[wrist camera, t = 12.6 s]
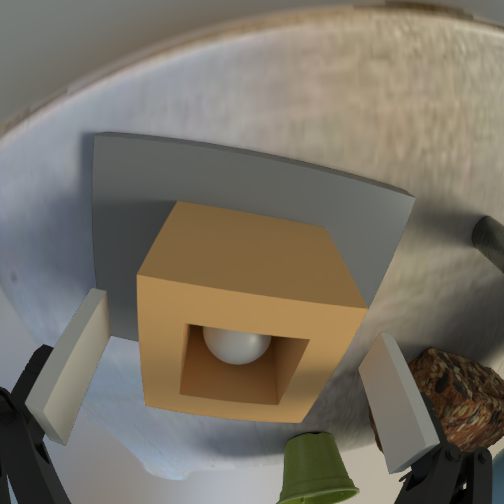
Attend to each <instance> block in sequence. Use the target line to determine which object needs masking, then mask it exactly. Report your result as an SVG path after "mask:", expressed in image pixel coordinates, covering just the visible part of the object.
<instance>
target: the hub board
mask: <svg viewBox="0 0 504 504" xmlns="http://www.w3.org/2000/svg"><path fill="white" fill-rule="evenodd" d="M415 200H416V198H415V197H414V196H412V195H411V194H410V193H408V192H407V191H405V190H403V189H400V188H397V187H394V186H390V185H387V184H384V183H381V182H377V181H374V180H371V179H367V178H364V177H360V176H357V175H353V174H349V173H346V172H342V171H338V170H334V169H331V168H327V167H323V166H319V165H315V164H310V163H306V162H302V161H298V160H293V159H289V158H284V157H280V156H275V155H270V154H265V153H260V152H255V151H250V150H245V149H239V148H234V147H228V146H222V145H216V144H210V143H203V142H196V141H189V140H182V139H174V138H166V137H158V136H149V135H139V134H128V133H116V132H104V133H101V134H98V135H95V136H94V148H93V168H92V230H93V250H94V264H95V276H96V286H97V289H100V290H104V291H107V301H108V311H109V319H110V327H111V336H115V337H120V338H124V339H128V340H133V341H138V342H139V331H138V309H137V273H138V271H139V269H140V268H141V266H142V264H143V262H144V260H145V258H146V256H147V254H148V252H149V251H150V249H151V247H152V245H153V243H154V241H155V239H156V238H157V236H158V234H159V232H160V230H161V229H162V227H163V225H164V223H165V222H166V220H167V218H168V216H169V215H170V213H171V211H172V209H173V208H174V206H175V204H176V203H177V201H182V202H188V203H194V204H200V205H207V206H213V207H218V208H224V209H230V210H236V211H241V212H247V213H253V214H258V215H264V216H269V217H274V218H280V219H285V220H290V221H295V222H300V223H306V224H311V225H316V226H321V227H325V228H326V230H327V232H328V234H329V235H330V237H331V239H332V241H333V243H334V244H335V246H336V248H337V250H338V252H339V253H340V255H341V257H342V259H343V261H344V263H345V265H346V266H347V268H348V270H349V272H350V274H351V276H352V278H353V280H354V282H355V284H356V286H357V288H358V289H359V291H360V293H361V295H362V297H363V299H364V301H365V303H366V305H367V307H368V309H369V307H370V305H371V303H372V301H373V299H374V296H375V294H376V292H377V290H378V288H379V286H380V284H381V282H382V280H383V278H384V275H385V273H386V271H387V269H388V267H389V264H390V262H391V260H392V257H393V255H394V253H395V251H396V248H397V246H398V243H399V241H400V239H401V236H402V234H403V231H404V229H405V226H406V224H407V221H408V218H409V216H410V213H411V211H412V208H413V205H414V202H415ZM203 335H204V340H205V343H206V345H207V347H208V348H209V350H210V351H211V352H212V354H213V355H214V356H216V357H217V358H218V359H220V360H221V361H224V362H226V363H229V364H236V365H240V364H247V363H250V362H252V361H254V360H256V359H258V358H259V357H260V356H262V355H263V353H264V352H265V351H266V350H267V348H268V347H269V344H270V342H271V339H272V335H264V334H256V333H248V332H240V331H233V330H226V329H219V328H213V327H206V326H203Z"/></svg>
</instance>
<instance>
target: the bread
mask: <svg viewBox="0 0 504 504" xmlns="http://www.w3.org/2000/svg"><path fill="white" fill-rule="evenodd" d="M408 368H409V370H410V372H411V374H412V376H413V379H414V381H415V383H416V385H417V388H418V390H419V392H425V394H426V395H427V396H428V397H429V398H430V399H431V402H432V404H433V406H434V410H435V411H436V413H437V417H438V418H439V420H440V423H441V425H442V428H443V430H444V432H445V435H446V437H447V440H448V442H449V443H452V444H455V445H457V446H458V447H459V448H460V450H461V451H466V452H473V451H474V450H475V449H476V448H478V447H480V446H483V447H485V448H488V447H490V446H491V445H494V444H495V443H496V442H497V441H498V440H499V439H501V438H502V437H503V436H504V380H503V379H501V378H500V376H499V375H498V374H497V373H496V372H495V371H494V370H493V369H491V368H490V369H488V368H485V367H484V366H482V365H481V364H479V363H476V362H474V361H472V360H469V359H467V358H464V357H462V356H459V355H454V354H452V353H451V354H450V353H448V352H443V351H439V350H437V349H434V348H431V349H429V350H427V351H424V352H423V353H422V354H421V356H420V358H417V359H416V360H414V361H412V362H411V363H409V365H408ZM369 411H370V414H369V418H370V422H371V427H372V429H373V430H374V433H375V440H376V443H377V446H378V448H379V450H380V451H382V453H383V449H382V445H381V442H380V438H379V435H378V431H377V428H376V424H375V421H374V418H373V414H372V411H371V408H370V404H369ZM383 454H384V453H383Z"/></svg>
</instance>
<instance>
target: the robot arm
mask: <svg viewBox="0 0 504 504" xmlns="http://www.w3.org/2000/svg"><path fill="white" fill-rule="evenodd" d="M110 336H111V327H110V319H109V311H108V301H107V291H104V290H100V289H95V288H91V290H90V291H89V293H88V294H87V296H86V297H85V299H84V300H83V302H82V303H81V305H80V307H79V308H78V310H77V311H76V313H75V314H74V316H73V318H72V319H71V321H70V322H69V324H68V326H67V327H66V329H65V331H64V332H63V334H62V335H61V337H60V339H59V341H58V342H57V344H56V346H55V347H54V348H53V347H50V346H47V345H45V344H43V345H42V346H41V347H40V348H38V349H37V350H36V351H35V352H34V353H33V355H32V357H31V358H30V360H29V363H27V365H26V367H25V370H23V372H22V374H21V376H20V377H19V379H18V381H17V383H16V385H15V387H14V388H13V390H12V392H11V394H10V392H8V391H7V390H6V389H5V388H2V387H0V504H11V500H10V494H9V488H8V481H7V475H8V478H9V481H10V484H11V486H12V489H13V492H14V494H15V497H16V500H17V502H18V504H71V502H70V500H69V499H68V497H67V494H66V493H65V490H64V489H63V486H62V484H61V482H60V480H59V478H58V476H57V473H56V471H55V469H54V467H53V464H52V462H51V459H50V457H49V454H48V452H47V449H46V447H45V444H44V442H43V437H44V435H45V434H46V435H47V437H48V438H49V439H50V440H52V441H54V442H57V443H59V444H62V445H64V446H66V445H67V442H68V439H69V436H70V433H71V430H72V428H73V425H74V422H75V420H76V417H77V414H78V412H79V409H80V407H81V404H82V401H83V399H84V396H85V394H86V391H87V389H88V387H89V384H90V382H91V379H92V377H93V375H94V372H95V370H96V368H97V365H98V363H99V361H100V358H101V356H102V354H103V352H104V349H105V347H106V345H107V343H108V341H109V338H110ZM358 370H359V373H360V376H361V379H362V382H363V385H364V388H365V392H366V395H367V398H368V401H369V404H370V408H371V411H372V414H373V418H374V421H375V424H376V428H377V431H378V435H379V438H380V442H381V445H382V449H383V453H384V456H385V460H386V464H387V468H388V472H389V474H393V473H398V472H402V471H404V470H405V469H407V468H408V467H409V466H411V469H412V471H410V472H409V473H407V474H406V475H404V476H403V477H401V479H400V480H399V482H401V481H403V480H404V479H405V478H406V480H405V482H403V487H402V489H401V491H400V493H399V495H398V497H397V499H396V501H395V503H394V504H504V449H502V450H501V451H500V452H499V453H498V454H497V455H496V456H495V457H494V459H493V460H492V456H491V453H490V451H489V450H488V449H487V448H485V447H483V446H480V447H478V448H476V449H475V450H474V451H473V452H466V451H461V450H460V448H459V447H458V446H457V445H455V444H452V443H449V442H448V440H447V437H446V435H445V432H444V430H443V428H442V425H441V423H440V420H439V418H438V417H437V413H436V411H435V410H434V406H433V404H432V402H431V399H430V398H429V397H428V396H427V395H426V394H425V392H419V390H418V388H417V385H416V383H415V381H414V379H413V376H412V374H411V372H410V370H409V368H408V365H407V363H406V361H405V359H404V357H403V355H402V353H401V351H400V349H399V346H398V344H397V342H396V340H395V338H394V336H393V334H392V333H383V332H380V333H379V335H378V336H377V338H376V340H375V341H374V343H373V345H372V346H371V348H370V350H369V351H368V353H367V355H366V356H365V358H364V360H363V361H362V363H361V364H360V366H359V367H358ZM6 472H7V473H6ZM465 483H466V489H463V485H464V484H465Z"/></svg>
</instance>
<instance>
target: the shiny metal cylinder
mask: <svg viewBox="0 0 504 504" xmlns="http://www.w3.org/2000/svg"><path fill="white" fill-rule="evenodd" d="M472 242H473V245H474V246H475V247H476V248H477V249H478V250H479V251H480V252H481V253H482V254H483V255H484V256H486V257H487V258H488V259H489V260H490V261H491V262H492V263H493V264H494V265H495V266H496V267H497V268H498V269H499V270H500V271H501V272H502V273H504V226H503V225H502V224H500V223H499V222H498V221H496V220H495V219H493V218H492V217H490V216H486V217H484V218H482V219H481V220H480V221H479V222H478V223H477V225H476V226H475V228H474V231H473V235H472Z"/></svg>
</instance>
